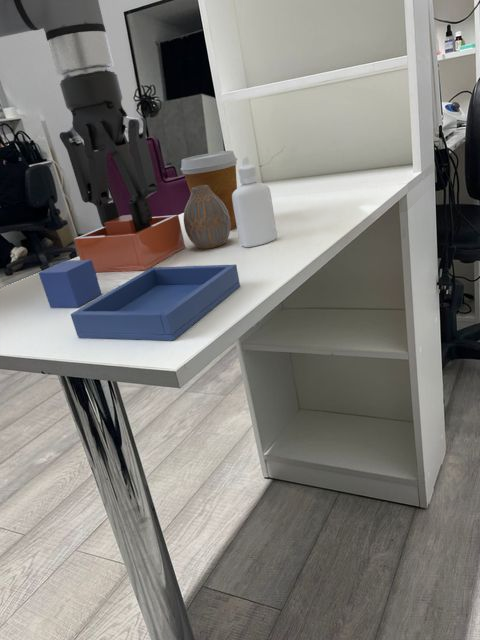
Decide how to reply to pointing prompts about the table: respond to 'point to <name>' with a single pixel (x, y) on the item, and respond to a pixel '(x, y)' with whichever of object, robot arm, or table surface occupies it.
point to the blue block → (70, 284)
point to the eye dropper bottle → (253, 208)
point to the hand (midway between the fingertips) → (133, 246)
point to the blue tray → (157, 303)
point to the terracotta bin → (132, 246)
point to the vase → (206, 218)
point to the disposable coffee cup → (214, 176)
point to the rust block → (120, 225)
